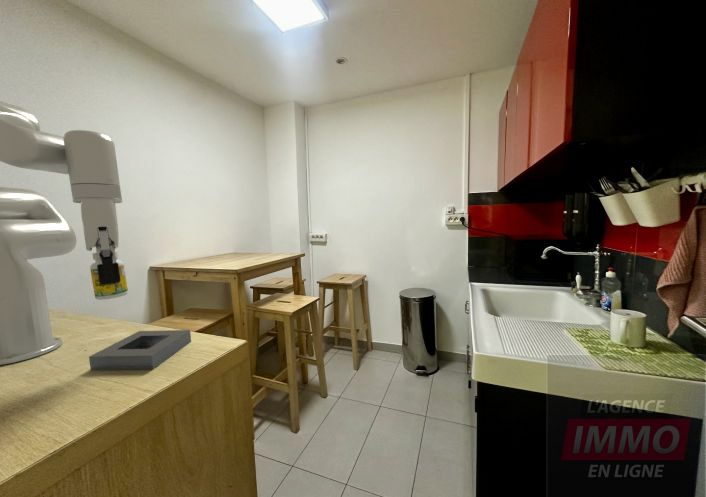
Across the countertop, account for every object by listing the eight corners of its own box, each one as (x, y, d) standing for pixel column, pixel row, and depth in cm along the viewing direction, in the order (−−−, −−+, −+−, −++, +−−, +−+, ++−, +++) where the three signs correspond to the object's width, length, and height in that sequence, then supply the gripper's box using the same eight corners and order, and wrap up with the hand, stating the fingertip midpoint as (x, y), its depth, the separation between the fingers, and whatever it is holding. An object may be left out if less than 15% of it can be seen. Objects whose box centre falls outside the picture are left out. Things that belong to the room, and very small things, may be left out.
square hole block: (90, 370, 56) (88, 356, 56) (140, 342, 69) (139, 331, 69) (152, 369, 56) (151, 355, 56) (191, 341, 69) (190, 330, 69)
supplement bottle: (130, 291, 62) (124, 250, 61) (125, 296, 58) (119, 251, 57) (98, 296, 60) (92, 252, 59) (91, 301, 55) (84, 254, 54)
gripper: (75, 199, 60) (87, 279, 62) (67, 189, 48) (83, 291, 50) (119, 199, 65) (129, 274, 67) (123, 191, 53) (136, 283, 55)
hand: (110, 280), depth 58 cm, fingers closed on supplement bottle, 5 cm apart
